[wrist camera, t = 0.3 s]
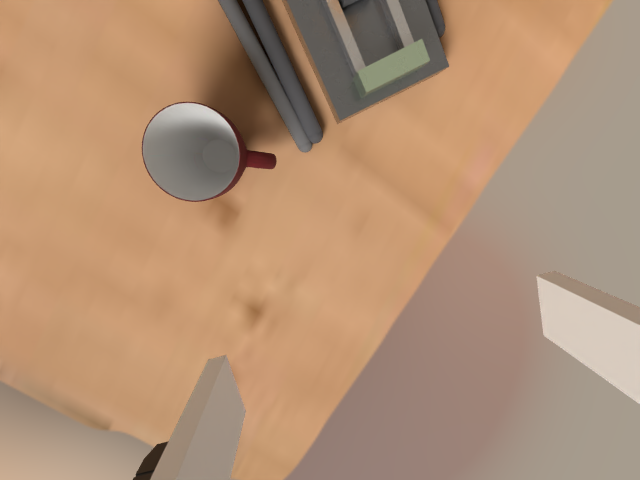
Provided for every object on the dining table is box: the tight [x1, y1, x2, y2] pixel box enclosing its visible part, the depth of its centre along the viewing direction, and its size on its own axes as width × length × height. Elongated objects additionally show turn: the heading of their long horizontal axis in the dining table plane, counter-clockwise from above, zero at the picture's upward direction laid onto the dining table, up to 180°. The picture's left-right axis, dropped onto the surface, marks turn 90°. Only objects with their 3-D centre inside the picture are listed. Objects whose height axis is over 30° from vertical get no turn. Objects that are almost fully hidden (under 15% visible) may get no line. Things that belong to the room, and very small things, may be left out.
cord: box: [218, 0, 312, 152], centre depth 36 cm, size 25×2×2 cm, turn 29°
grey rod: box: [242, 0, 323, 143], centre depth 35 cm, size 24×2×2 cm, turn 26°
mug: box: [142, 102, 276, 202], centre depth 34 cm, size 10×8×10 cm
